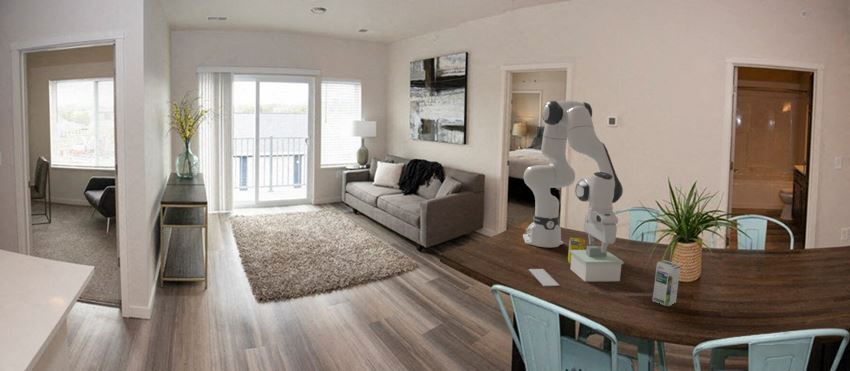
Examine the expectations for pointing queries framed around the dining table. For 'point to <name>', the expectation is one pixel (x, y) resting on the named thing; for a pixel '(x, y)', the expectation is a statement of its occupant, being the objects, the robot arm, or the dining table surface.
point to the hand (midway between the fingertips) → (597, 248)
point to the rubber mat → (544, 277)
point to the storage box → (595, 271)
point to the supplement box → (575, 246)
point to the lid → (595, 256)
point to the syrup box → (666, 282)
